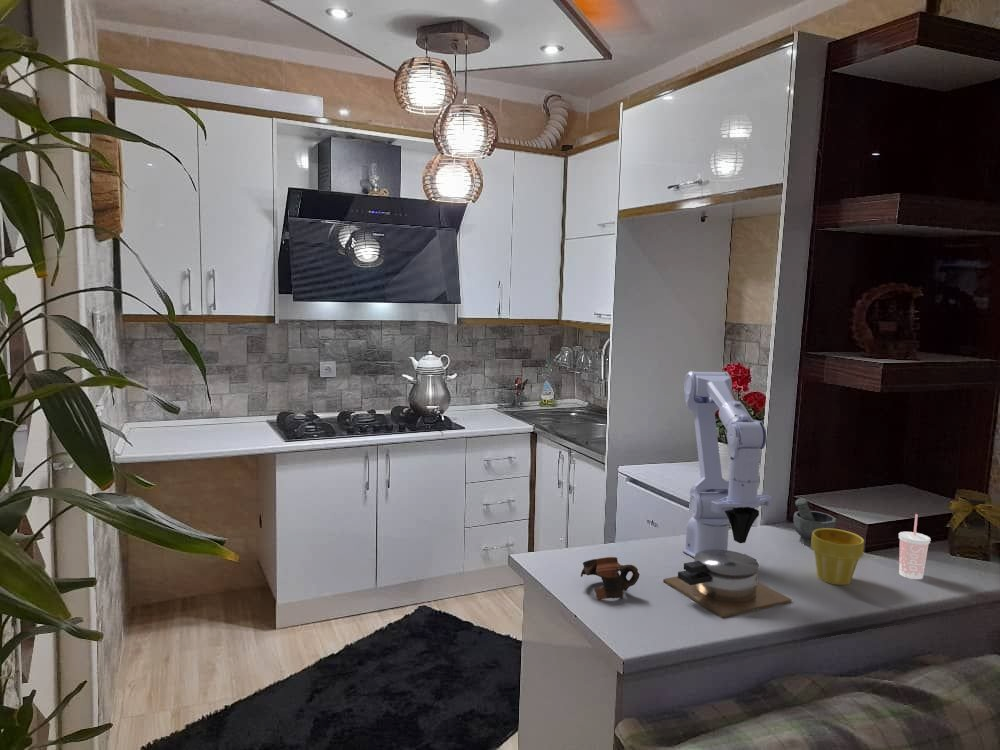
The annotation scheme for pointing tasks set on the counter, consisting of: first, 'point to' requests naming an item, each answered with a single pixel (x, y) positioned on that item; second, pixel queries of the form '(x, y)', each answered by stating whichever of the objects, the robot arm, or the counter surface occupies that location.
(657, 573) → the counter surface
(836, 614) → the counter surface
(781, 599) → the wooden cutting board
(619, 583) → the pottery mug
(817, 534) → the plant pot
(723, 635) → the counter surface
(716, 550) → the cooker lid
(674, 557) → the counter surface
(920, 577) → the beverage cup
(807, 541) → the mortar and pestle
